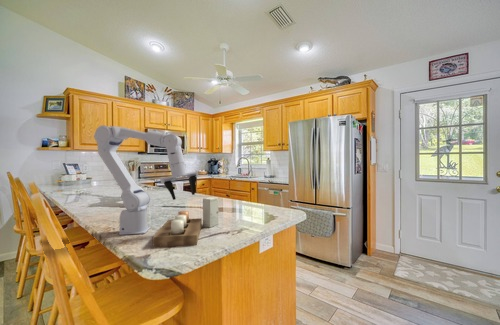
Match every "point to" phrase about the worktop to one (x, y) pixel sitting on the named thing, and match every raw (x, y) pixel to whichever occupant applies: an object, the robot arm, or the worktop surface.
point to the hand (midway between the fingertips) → (184, 197)
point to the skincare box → (210, 211)
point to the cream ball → (182, 217)
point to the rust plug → (184, 214)
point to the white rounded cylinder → (177, 226)
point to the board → (185, 238)
